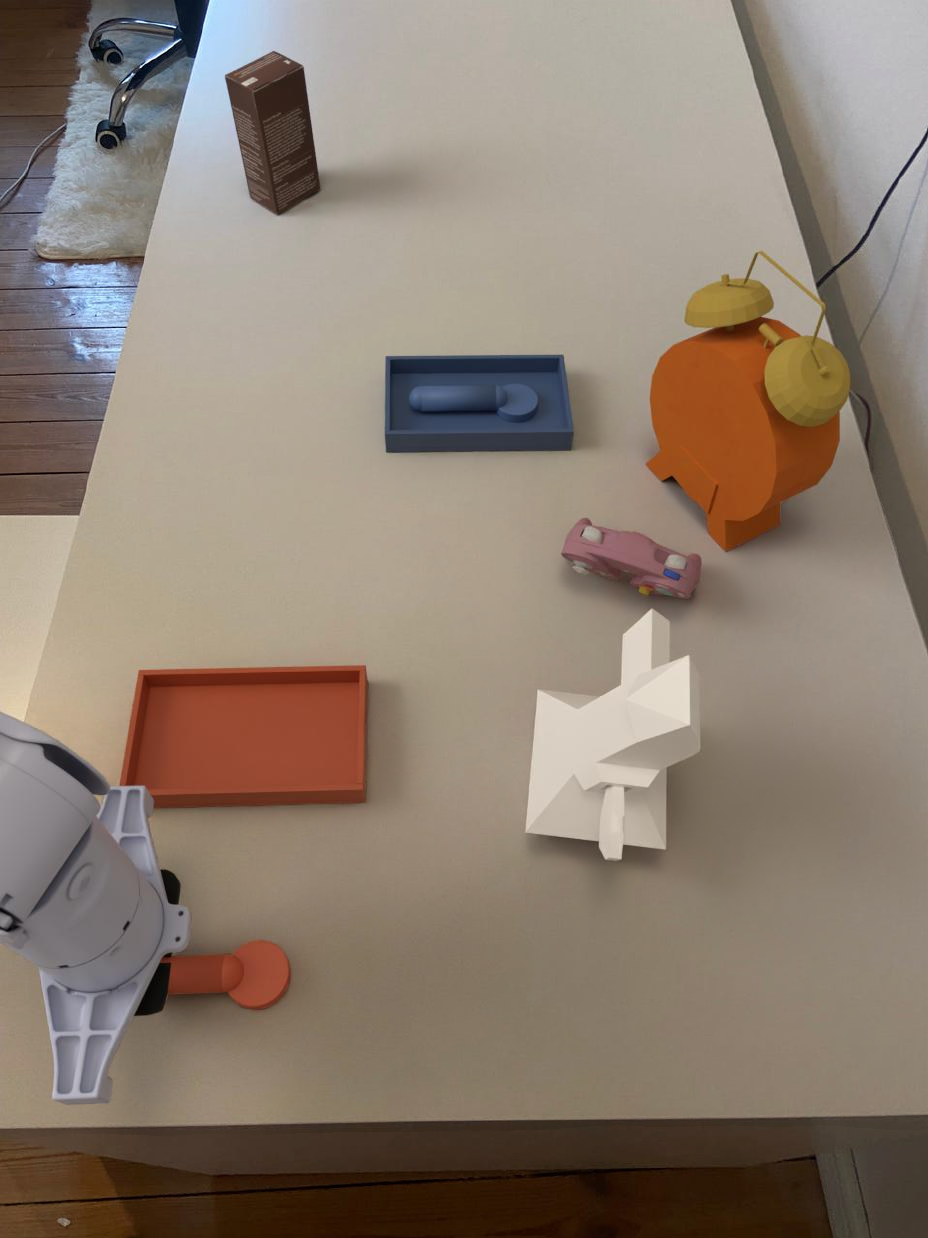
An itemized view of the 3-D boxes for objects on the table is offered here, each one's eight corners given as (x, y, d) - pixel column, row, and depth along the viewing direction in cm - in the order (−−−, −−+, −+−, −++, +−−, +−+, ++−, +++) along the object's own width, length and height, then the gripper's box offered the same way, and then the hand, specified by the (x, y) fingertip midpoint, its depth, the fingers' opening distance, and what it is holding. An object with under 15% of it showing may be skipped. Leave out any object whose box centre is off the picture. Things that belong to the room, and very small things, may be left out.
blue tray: (385, 452, 77) (384, 433, 75) (386, 374, 81) (385, 355, 80) (571, 450, 77) (574, 431, 75) (560, 373, 82) (563, 354, 80)
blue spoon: (409, 423, 78) (408, 405, 76) (409, 392, 80) (408, 373, 78) (539, 422, 78) (541, 404, 76) (535, 390, 80) (537, 372, 78)
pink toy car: (557, 576, 72) (551, 557, 65) (577, 519, 73) (574, 495, 66) (685, 619, 70) (693, 604, 64) (705, 560, 71) (715, 540, 64)
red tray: (126, 809, 60) (117, 796, 58) (146, 685, 65) (138, 669, 63) (365, 802, 60) (363, 789, 59) (367, 680, 65) (365, 664, 63)
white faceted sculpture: (517, 890, 58) (538, 801, 46) (535, 686, 65) (557, 567, 54) (658, 907, 57) (714, 823, 46) (660, 701, 65) (708, 583, 53)
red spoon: (98, 1015, 53) (87, 1008, 52) (108, 949, 55) (98, 939, 54) (289, 1009, 54) (284, 1001, 52) (292, 943, 56) (288, 933, 54)
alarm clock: (800, 535, 73) (908, 324, 56) (737, 568, 71) (829, 359, 54) (691, 424, 79) (760, 203, 62) (631, 451, 77) (685, 231, 60)
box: (291, 172, 97) (274, 47, 87) (321, 191, 95) (308, 65, 85) (245, 197, 94) (221, 72, 84) (275, 217, 93) (255, 91, 83)
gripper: (142, 1081, 38) (210, 1118, 49) (185, 746, 46) (235, 845, 57) (-41, 1088, 38) (70, 1124, 49) (35, 750, 46) (115, 848, 57)
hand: (150, 974), depth 53 cm, fingers closed on red spoon, 2 cm apart
